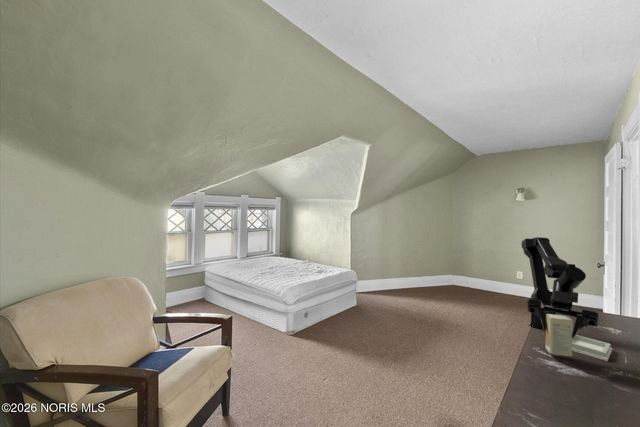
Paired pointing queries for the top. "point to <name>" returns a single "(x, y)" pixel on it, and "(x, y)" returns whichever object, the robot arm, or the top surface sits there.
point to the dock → (591, 347)
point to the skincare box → (559, 334)
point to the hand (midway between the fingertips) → (558, 334)
